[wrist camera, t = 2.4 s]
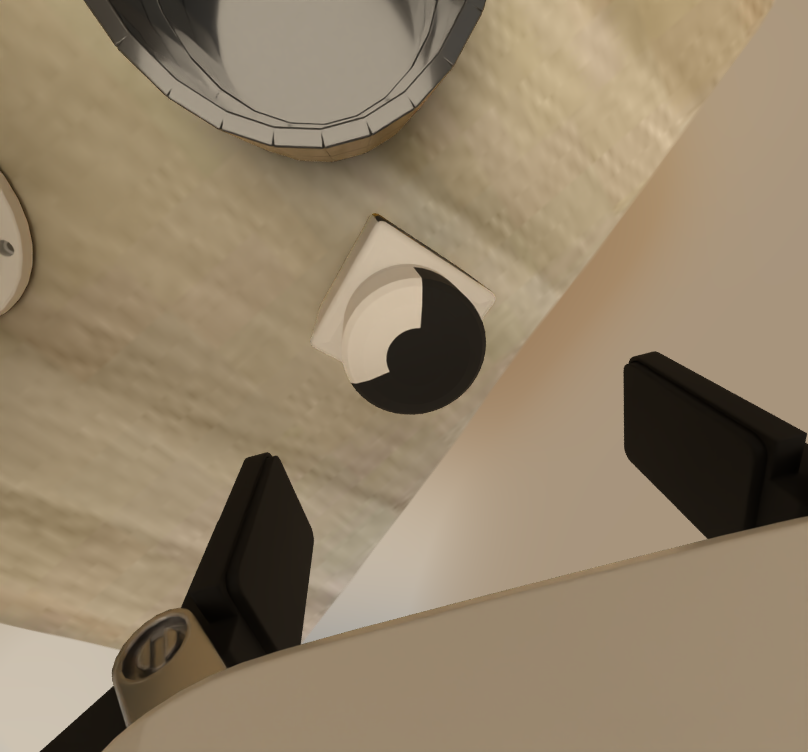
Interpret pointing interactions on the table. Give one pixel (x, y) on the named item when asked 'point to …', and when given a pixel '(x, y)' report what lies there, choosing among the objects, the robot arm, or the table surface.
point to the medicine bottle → (403, 322)
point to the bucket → (295, 64)
